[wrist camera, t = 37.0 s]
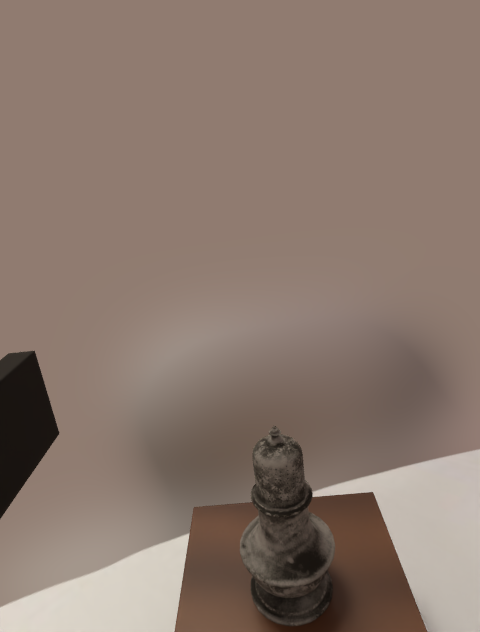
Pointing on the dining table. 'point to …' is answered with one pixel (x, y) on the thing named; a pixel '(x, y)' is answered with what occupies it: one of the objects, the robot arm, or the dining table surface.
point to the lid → (345, 570)
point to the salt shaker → (286, 537)
